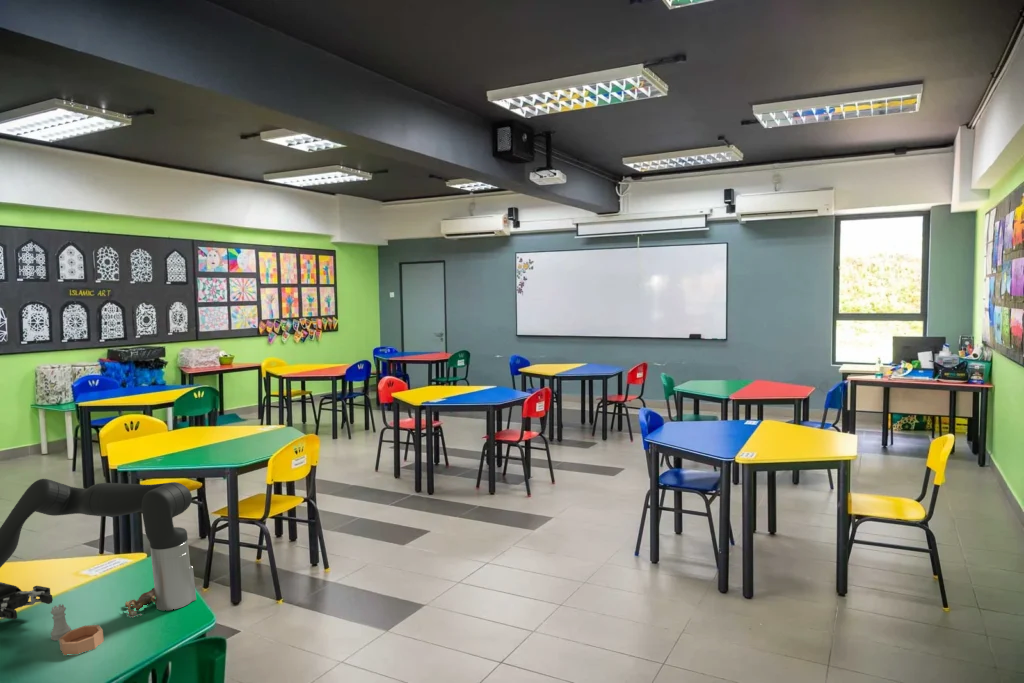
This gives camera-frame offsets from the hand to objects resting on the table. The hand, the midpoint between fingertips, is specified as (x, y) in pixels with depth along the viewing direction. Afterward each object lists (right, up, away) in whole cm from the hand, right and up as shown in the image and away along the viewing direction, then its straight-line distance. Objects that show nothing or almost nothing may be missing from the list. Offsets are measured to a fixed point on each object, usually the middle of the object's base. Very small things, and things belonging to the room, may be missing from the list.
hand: (33, 607), depth 174 cm
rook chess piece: (+10, -6, -4) cm, 12 cm away
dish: (+18, -6, -9) cm, 21 cm away
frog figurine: (+22, -5, +11) cm, 25 cm away
